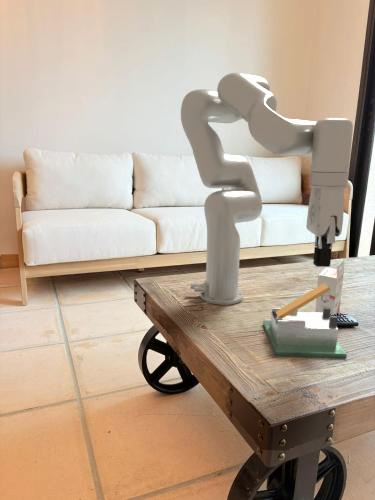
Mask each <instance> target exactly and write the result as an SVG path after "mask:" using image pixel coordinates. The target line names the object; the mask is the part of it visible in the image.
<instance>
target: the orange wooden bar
mask: <svg viewBox="0 0 375 500" xmlns="http://www.w3.org/2000/svg"><path fill="white" fill-rule="evenodd" d="M328 291H330V289H329V288H328V287H327V285H326V284H325V283H323V284H321V285H320V286H318V285H317V286H316V287H315V288H313V289H312V290H310V291H308V292H306V293H305V294H303V295H302V296H300V297H298V298H297V299H294V300H293V301H292V302H290V303H288V304H286V305H284V306H283V307H280V308H281V309H279V310H278V311H276V314H277V316H278V317H279V318H284V317H286V316H287V315H289V314H291V313H292V312H294V311H296V310H297V309H298V310H299V309H301V308H302V307H304V306H306V305H307V304H309V303H311V302H312V301H314V300H316V299H317V298H318V297H319V296H321V295H323V294H325V293H326V292H328Z"/></svg>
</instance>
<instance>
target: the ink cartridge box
mask: <svg viewBox="0 0 375 500" xmlns="http://www.w3.org/2000/svg"><path fill="white" fill-rule="evenodd" d="M344 274H345V259H342V260H341V261H340V263H338V265H337V266H336V268H334V267H333V268H332V267H325V268H324V269H322V271H320V272H319V274H318V275H317V277H318V278H317V287H318V286H320V285H321V284H323V283H325V284H326V285H327V287H328V288H329V289H330V291H328V292H326V293H325V294H323V295H321V296H319V297H318V298H316V299H315V300H316V301H315V302H316V303H315V311H314V312H320V313H323V307H329V308H330V309H331V311H330V314H331V315H334V314H336V313H337V314H338V312H339V311H340V309H341V299H342V290H343V281H344ZM337 314H336V315H337Z"/></svg>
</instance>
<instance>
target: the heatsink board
mask: <svg viewBox="0 0 375 500" xmlns="http://www.w3.org/2000/svg"><path fill="white" fill-rule="evenodd" d="M281 308H282V307H271V311H270V317H269V318H270V319H269V320H263V323H262V325H263V328H264V331H265V333H266V335H267V337H268V341H269V343H270V346H271V348H272V351H273V354H274V357H286V358H287V357H289V358H290V357H291V358H292V357H293V358H294V357H295V358H321V359H322V358H329V359H347V356H348V354H347V352H346V351H345V350H344V348H343V347H342V345H341V344H340V343H339V341H338V336H339V328H338V321H339V320H338V316H337V315H336V316H330V311H331V309H330V308H329V307H323V313H320V312H315V311H314V312H312V311H311V312H310V311H298V310H299V309H297V310H296V311H294V312H292V313H291V314H289V315H287V316H286V317H284V318H279V317H278V316H277V314H276V311H278V310H279V309H281ZM329 317H330V318H329Z"/></svg>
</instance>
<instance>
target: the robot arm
mask: <svg viewBox="0 0 375 500" xmlns="http://www.w3.org/2000/svg"><path fill="white" fill-rule="evenodd" d="M277 106H278V102H277V99H276V96H275V95H274V94H273V93H272V92H271V86H270V85H269V82H268V81H267V80H266V79H265V78H263V77H261V76H259V75H252V74H246V73H241V72H230V73H228V74H225V75H224V76H223V77H222V78H221V79H220V80H219V81H218V84H217V89H216V90H215V89H214V90H212V89H205V88H204V89H202V88H201V89H195V90H191V91H189V92H188V93H186V95H185V96H184V97H183V99H182V103H181V105H180V107H181V108H180V121H181V126H182V129H183V131H184V133H185V136H186V139H187V140H188V142H189V144H190V147H191V150H192V154H193V156H194V160H195V164H196V167H197V171H198V175H199V177H200V181H201V182H202V184H203V185H204V186H205V187H206V188H208V189H220V190H217V191H214V192H211V193H210V194H209V195H208V196H207V197H206V198H205V201H204V205H203V209H204V210H203V211H204V217H205V224H206V263H205V264H206V265H205V266H206V267H205V268H206V269H205V279H204V281H203V282H202V281H201V282H200V283H196V282H191V283H190V290H194V292H198V293H199V292H200V295H199V296H200V299H201V300H203V301H204V302H206V303H208V304H213V305H219V306H223V305H224V306H226V305H227V306H228V305H234V304H238V303H240V302H242V300H243V299H244V294H243V293H242V291H240V290H239V276H240V275H239V274H240V252H241V237H240V233H239V231H238V229H237V227H236V224H240V223H248V222H253V221H255V220H257V219H259V218H260V216H261V214H262V211H263V200H262V196H261V193H260V189H259V186H258V183H257V179H256V176H255V174H254V170H253V167H252V165H251V163H250V162H249V161H248V159H247V158H245V157H244V156H243V155H238V154H227V153H226V152H225V150H224V147H223V145H222V141H221V138H220V136H219V135H218V133H217V131H216V130H215V129H214V128H213V127H212V126H211V125H210V124H209V123H218V124H219V123H220V124H233V123H235V122H238V121H240V120H243V121H245V122H246V123H247V127H248V131H249V133H250V136H251V137H252V138H253V140H254V141H256V142H257V143H258V144H259V145H261V146H262V147H263V148H264V149H266V150H267V151H269V152H270V153H272V154H274V155H276V156H277V155H278V156H281V157H282V156H283V157H311V160H310V172H309V173H310V174H309V188H311V190H310V195H309V200H308V209H307V215H306V216H307V217H306V229H307V231H308V232H310V233H311V234H313V235H314V249H313V252H314V253H313V262H312V263H313V265H314V266H315V267H325V268H326V267H327V268H330V266H331V263H332V262H331V259H332V249H333V245H334V244H335V243H336V237H339V236H341V235H342V231H343V224H344V208H345V207H344V206H345V190H346V189H348V183H349V173H350V164H351V163H350V162H351V152H352V140H353V130H354V125H353V122H352V120H350V119H348V118H339V117H334V118H333V117H329V118H323V119H319V120H317V121H313V120H305V119H304V120H302V119H292V118H286V117H283V116H282V115H280V114H279V113H277V112H276V110H277ZM229 188H230V189H229ZM224 189H225V190H224Z"/></svg>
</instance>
